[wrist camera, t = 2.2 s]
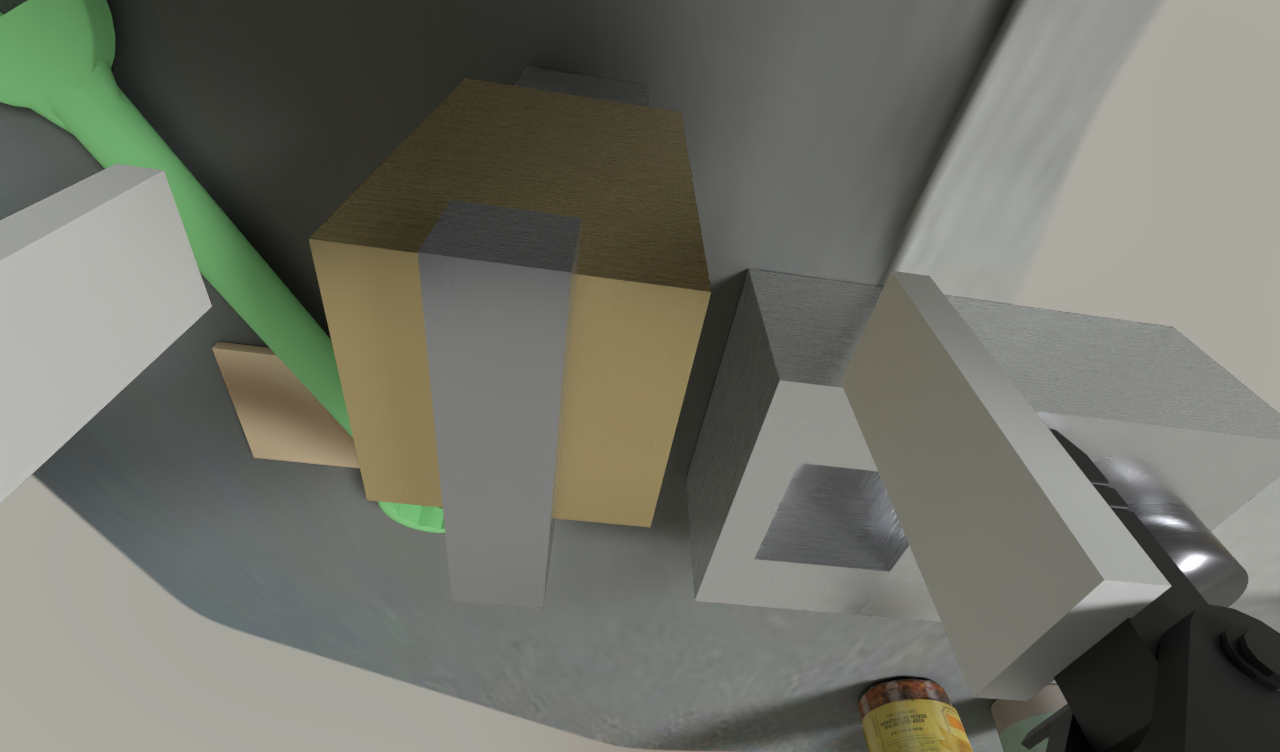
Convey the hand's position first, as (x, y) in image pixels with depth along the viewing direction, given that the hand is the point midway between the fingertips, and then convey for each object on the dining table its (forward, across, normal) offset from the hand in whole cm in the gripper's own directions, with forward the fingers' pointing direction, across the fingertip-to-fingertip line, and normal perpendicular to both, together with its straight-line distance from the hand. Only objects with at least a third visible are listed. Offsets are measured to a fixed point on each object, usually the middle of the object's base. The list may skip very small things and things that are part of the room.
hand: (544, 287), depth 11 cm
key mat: (+8, -9, -12) cm, 17 cm away
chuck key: (+8, 0, 0) cm, 8 cm away
